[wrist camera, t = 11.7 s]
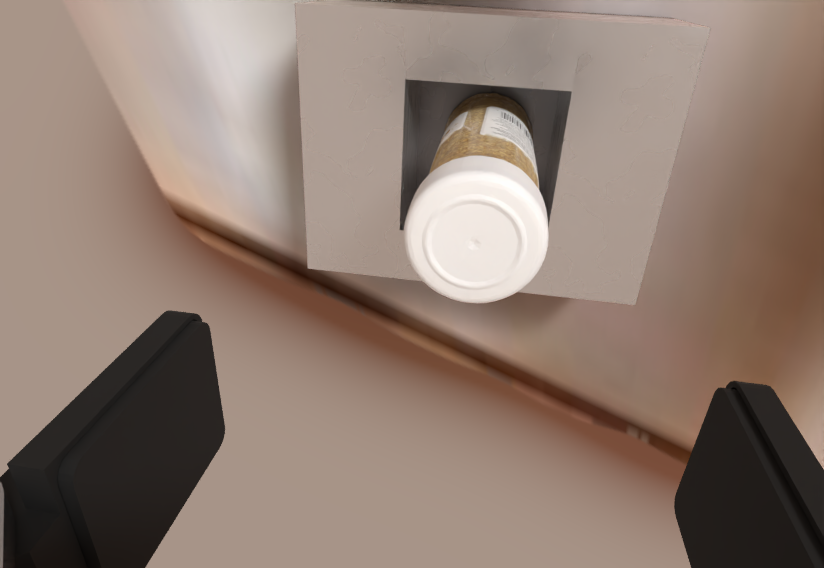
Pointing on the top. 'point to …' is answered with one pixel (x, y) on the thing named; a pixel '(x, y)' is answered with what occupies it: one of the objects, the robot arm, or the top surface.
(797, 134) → the top surface
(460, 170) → the sprinkles bottle
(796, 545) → the robot arm
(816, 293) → the top surface
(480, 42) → the grey box with opening
